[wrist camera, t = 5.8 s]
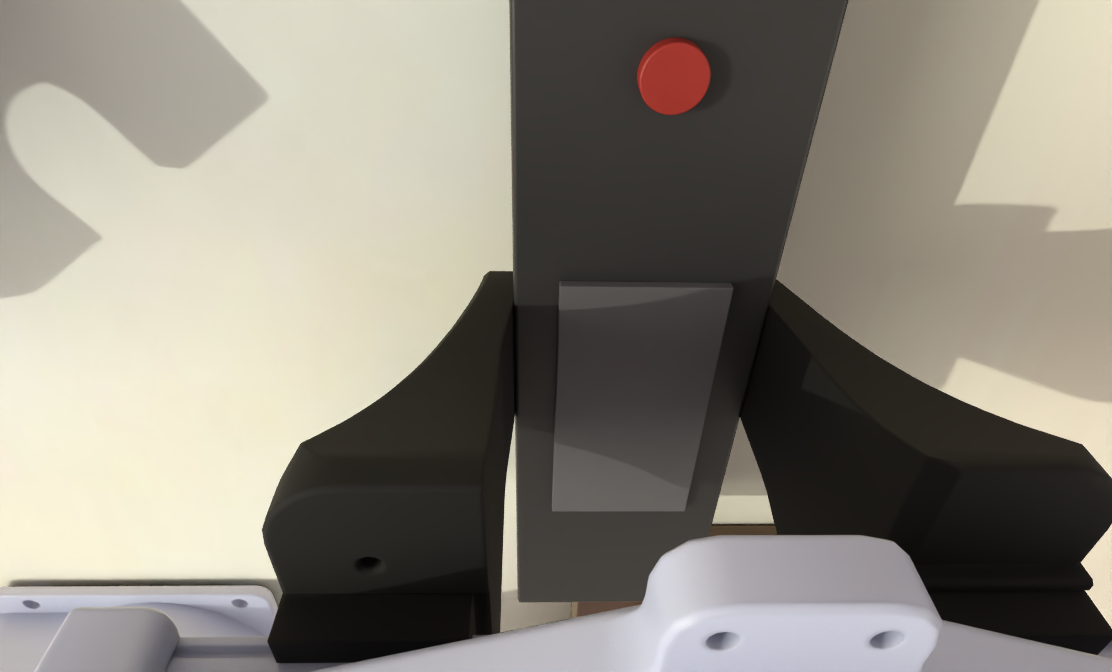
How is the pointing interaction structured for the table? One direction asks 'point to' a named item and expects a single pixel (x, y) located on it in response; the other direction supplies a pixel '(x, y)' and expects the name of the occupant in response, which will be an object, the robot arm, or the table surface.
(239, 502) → the table surface
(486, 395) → the robot arm
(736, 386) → the remote
